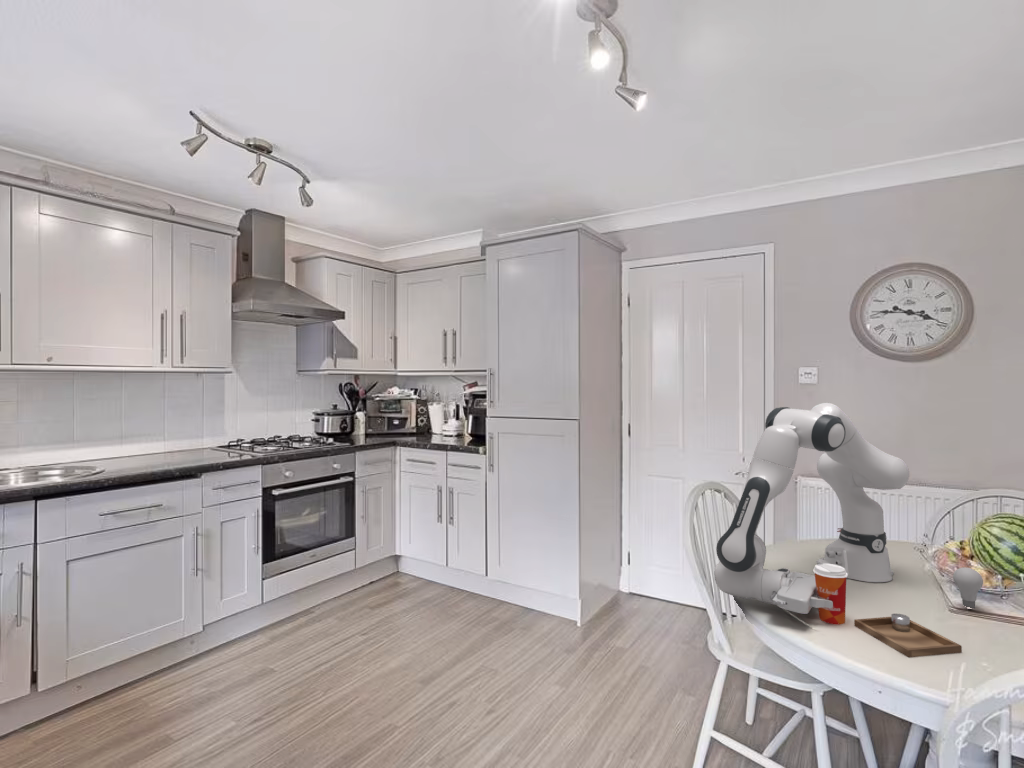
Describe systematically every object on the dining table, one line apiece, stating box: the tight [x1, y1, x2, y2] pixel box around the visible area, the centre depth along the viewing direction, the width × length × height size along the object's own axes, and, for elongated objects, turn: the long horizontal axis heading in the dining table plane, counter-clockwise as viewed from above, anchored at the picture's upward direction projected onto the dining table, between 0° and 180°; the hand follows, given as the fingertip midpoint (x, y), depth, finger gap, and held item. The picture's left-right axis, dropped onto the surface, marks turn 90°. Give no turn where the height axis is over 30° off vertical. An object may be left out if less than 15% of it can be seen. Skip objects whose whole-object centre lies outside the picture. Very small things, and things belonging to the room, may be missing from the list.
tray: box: [853, 616, 963, 658], centre depth 126 cm, size 16×13×2 cm
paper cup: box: [812, 563, 848, 626], centre depth 137 cm, size 8×8×14 cm
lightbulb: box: [952, 566, 984, 609], centre depth 142 cm, size 6×6×11 cm
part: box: [890, 613, 911, 632], centre depth 130 cm, size 4×4×3 cm
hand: (835, 599), depth 136 cm, fingers closed on paper cup, 6 cm apart
